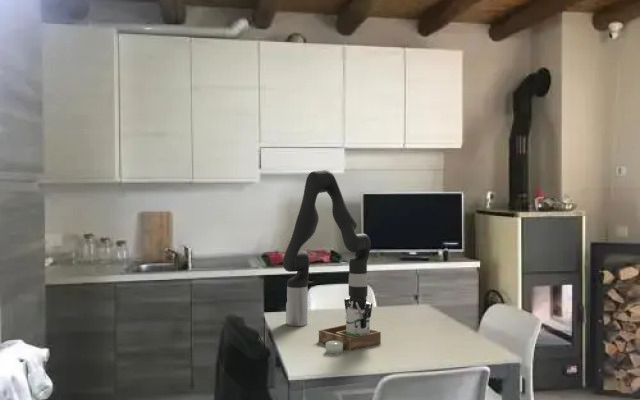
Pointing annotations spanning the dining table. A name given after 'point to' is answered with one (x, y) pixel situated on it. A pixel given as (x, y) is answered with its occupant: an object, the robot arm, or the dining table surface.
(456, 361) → the dining table surface
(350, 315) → the ink box
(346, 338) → the organizer
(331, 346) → the white domed round part
